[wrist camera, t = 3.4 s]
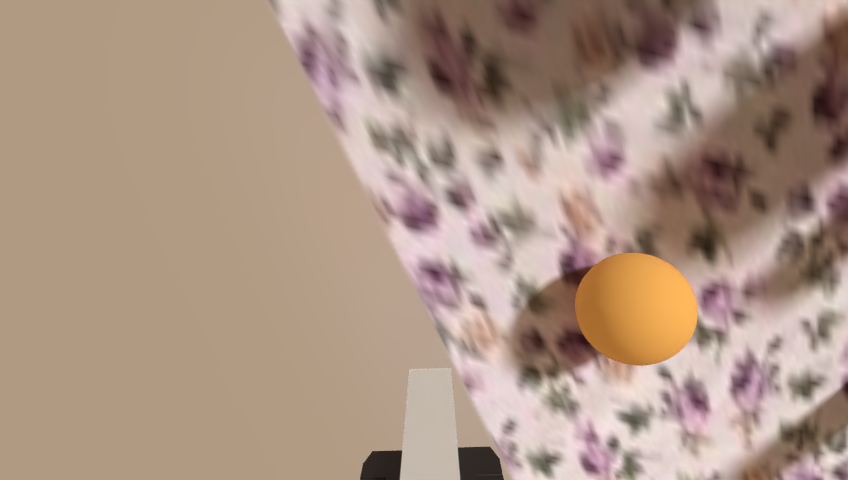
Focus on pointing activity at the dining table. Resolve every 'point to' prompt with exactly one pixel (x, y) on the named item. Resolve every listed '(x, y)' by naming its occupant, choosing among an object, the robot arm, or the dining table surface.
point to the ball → (636, 309)
